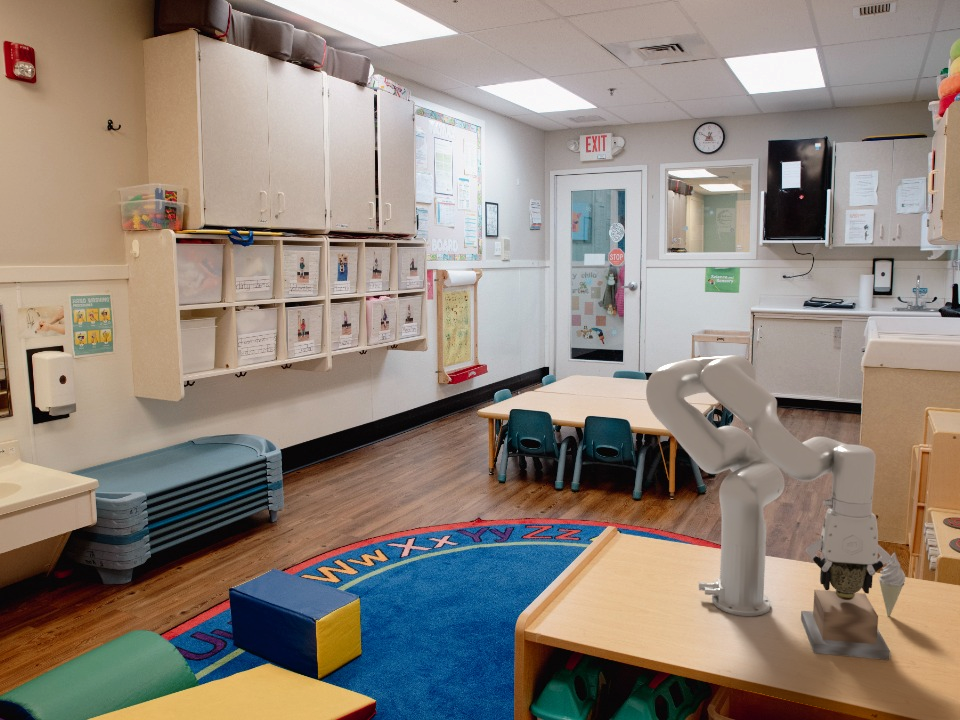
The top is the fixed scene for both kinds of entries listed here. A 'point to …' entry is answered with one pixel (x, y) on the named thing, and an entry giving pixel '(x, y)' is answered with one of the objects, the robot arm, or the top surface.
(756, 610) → the robot arm
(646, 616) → the top surface
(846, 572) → the cup
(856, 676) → the top surface
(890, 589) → the ice cream cone
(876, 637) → the brown block on base
